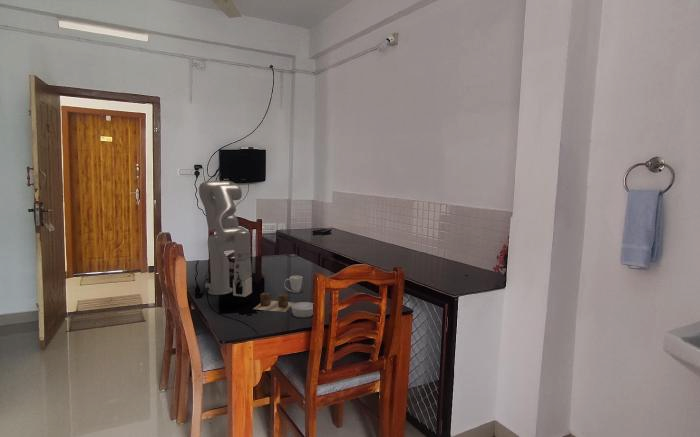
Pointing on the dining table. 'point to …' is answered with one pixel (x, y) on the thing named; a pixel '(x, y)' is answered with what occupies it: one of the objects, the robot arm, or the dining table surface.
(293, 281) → the cup
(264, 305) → the post board
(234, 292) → the matte grey cube
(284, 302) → the post
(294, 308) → the ramekin
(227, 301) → the dining table surface
